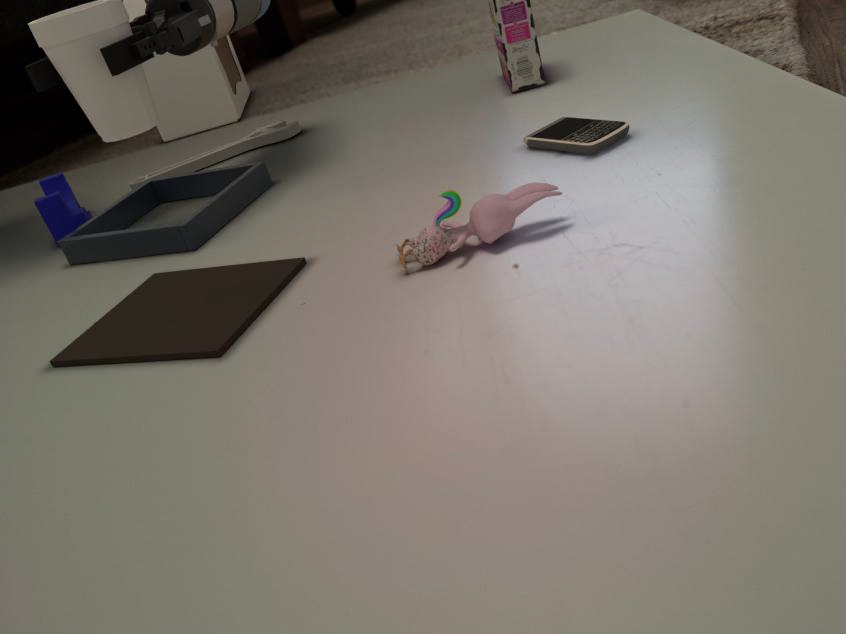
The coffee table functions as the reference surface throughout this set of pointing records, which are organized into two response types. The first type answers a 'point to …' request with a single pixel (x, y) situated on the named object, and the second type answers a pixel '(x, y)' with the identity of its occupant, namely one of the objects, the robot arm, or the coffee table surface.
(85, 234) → the tray
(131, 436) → the coffee table surface
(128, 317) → the mat
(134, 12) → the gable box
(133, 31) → the robot arm
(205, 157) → the adjustable wrench
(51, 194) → the cable clip
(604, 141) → the cell phone
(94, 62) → the foam cup
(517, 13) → the candy bar box
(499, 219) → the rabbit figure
